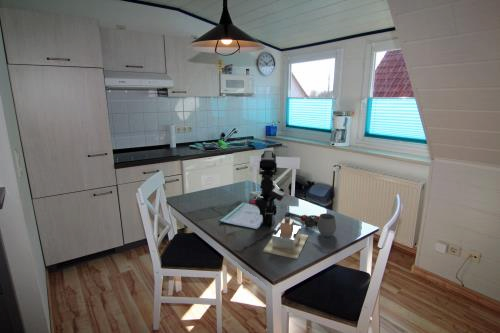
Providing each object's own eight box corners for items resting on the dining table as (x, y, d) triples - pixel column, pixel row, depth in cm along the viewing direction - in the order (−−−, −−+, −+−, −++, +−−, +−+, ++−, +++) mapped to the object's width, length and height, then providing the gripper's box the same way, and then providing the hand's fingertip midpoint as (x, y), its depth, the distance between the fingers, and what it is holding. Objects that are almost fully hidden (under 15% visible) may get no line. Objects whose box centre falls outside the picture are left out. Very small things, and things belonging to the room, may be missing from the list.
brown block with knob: (283, 227, 144) (283, 215, 143) (293, 229, 142) (293, 217, 141) (280, 232, 140) (280, 219, 138) (290, 234, 138) (291, 221, 136)
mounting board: (277, 231, 156) (277, 229, 155) (308, 236, 149) (308, 235, 149) (263, 251, 136) (263, 250, 136) (297, 259, 130) (297, 257, 130)
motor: (282, 231, 153) (282, 218, 151) (302, 235, 149) (302, 221, 148) (271, 247, 138) (272, 232, 136) (293, 251, 134) (294, 236, 132)
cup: (321, 228, 158) (322, 211, 156) (338, 233, 152) (339, 215, 150) (313, 235, 151) (314, 217, 149) (330, 240, 145) (332, 222, 143)
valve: (333, 226, 165) (318, 232, 154) (295, 215, 183) (280, 219, 172) (334, 215, 164) (319, 220, 154) (296, 205, 182) (281, 208, 172)
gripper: (277, 191, 133) (276, 223, 137) (288, 180, 150) (287, 208, 154) (254, 188, 138) (254, 219, 142) (267, 177, 154) (267, 205, 158)
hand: (267, 213), depth 149 cm, fingers open, 9 cm apart
